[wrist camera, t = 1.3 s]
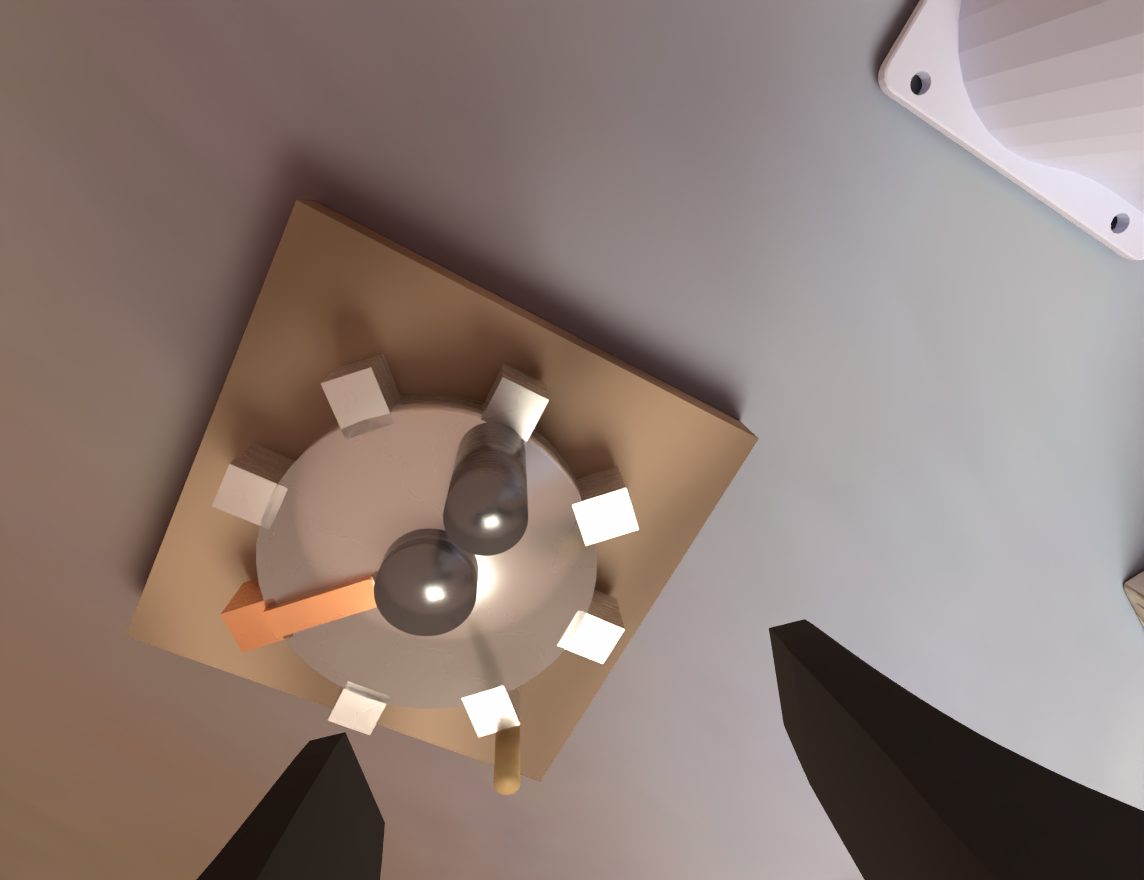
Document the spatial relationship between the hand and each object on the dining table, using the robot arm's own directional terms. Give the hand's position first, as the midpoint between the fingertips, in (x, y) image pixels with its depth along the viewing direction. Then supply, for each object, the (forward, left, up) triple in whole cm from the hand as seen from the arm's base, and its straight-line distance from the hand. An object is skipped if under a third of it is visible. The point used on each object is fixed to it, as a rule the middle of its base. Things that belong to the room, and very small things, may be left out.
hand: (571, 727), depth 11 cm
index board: (+2, +2, -10) cm, 10 cm away
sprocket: (+3, +2, -8) cm, 8 cm away
